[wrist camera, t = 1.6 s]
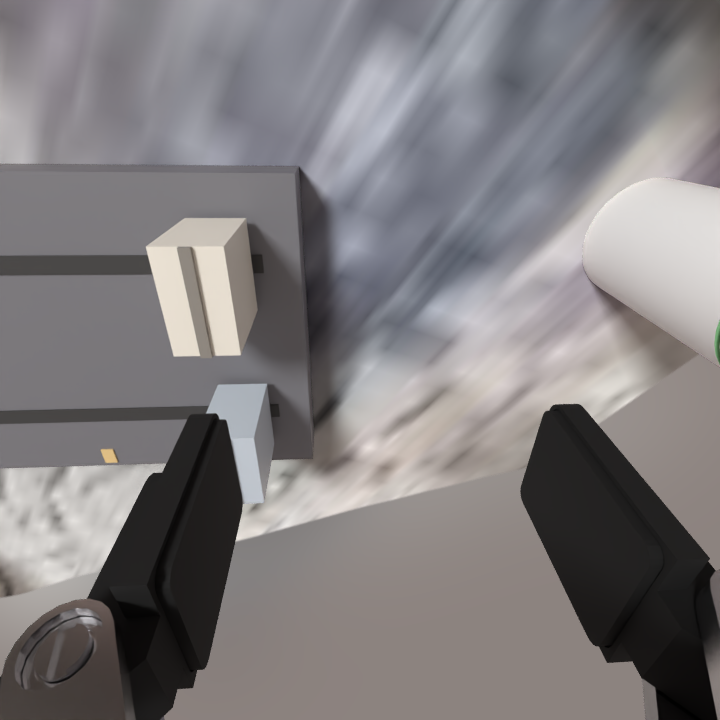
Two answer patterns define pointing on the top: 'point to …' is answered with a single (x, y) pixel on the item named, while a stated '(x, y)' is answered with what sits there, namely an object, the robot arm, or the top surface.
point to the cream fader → (205, 285)
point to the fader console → (137, 311)
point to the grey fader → (247, 434)
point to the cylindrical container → (662, 258)
